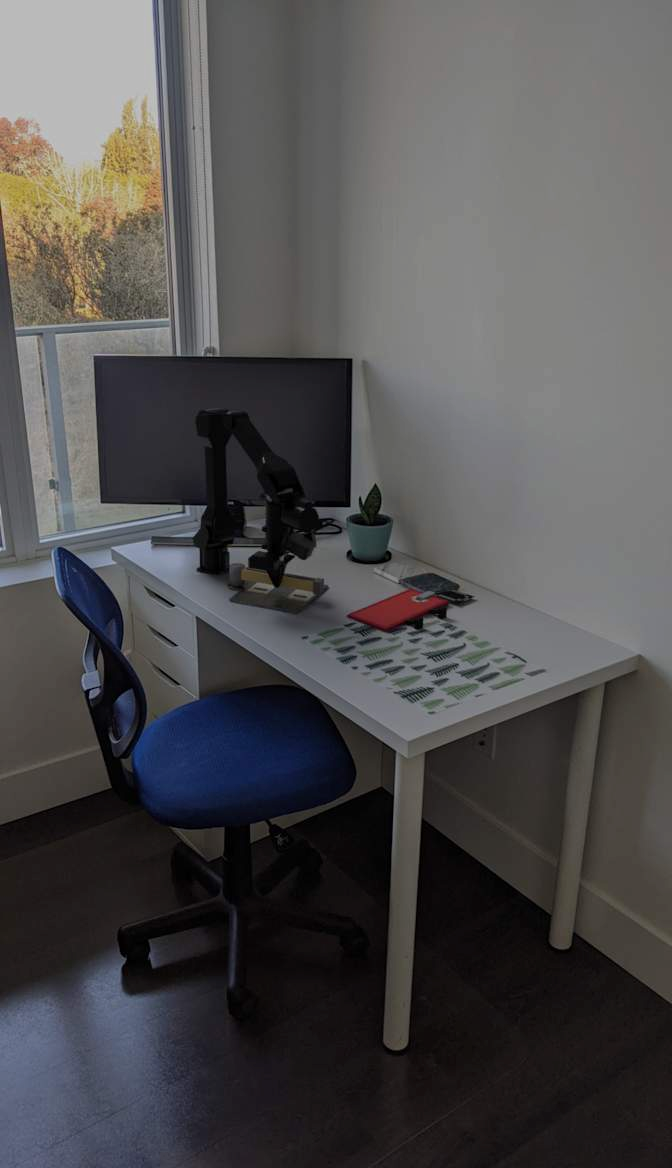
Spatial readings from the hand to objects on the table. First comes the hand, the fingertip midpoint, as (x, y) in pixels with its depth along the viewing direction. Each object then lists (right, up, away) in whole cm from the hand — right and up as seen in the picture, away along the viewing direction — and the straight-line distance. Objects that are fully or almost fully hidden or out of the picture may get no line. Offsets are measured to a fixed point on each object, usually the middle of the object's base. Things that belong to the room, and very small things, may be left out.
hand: (277, 587), depth 208 cm
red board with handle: (+31, -6, -2) cm, 32 cm away
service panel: (-2, -1, +4) cm, 5 cm away
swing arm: (-1, -1, +4) cm, 4 cm away
